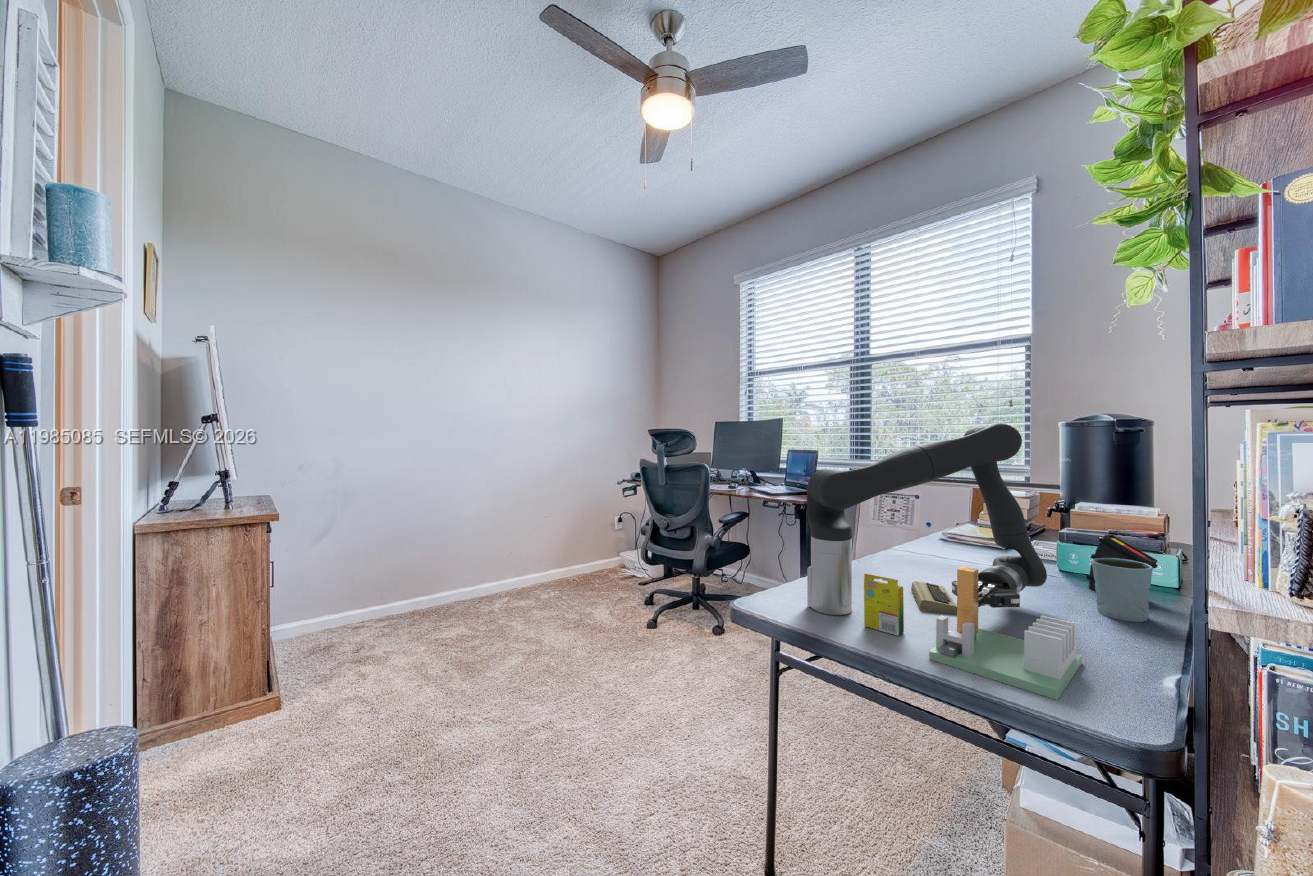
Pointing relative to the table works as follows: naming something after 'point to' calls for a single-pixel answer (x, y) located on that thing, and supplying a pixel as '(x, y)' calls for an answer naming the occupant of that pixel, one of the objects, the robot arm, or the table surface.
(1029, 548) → the robot arm
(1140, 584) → the grey green bin
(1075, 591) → the table surface
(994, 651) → the heatsink board
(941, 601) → the computer
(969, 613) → the wooden block
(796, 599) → the table surface
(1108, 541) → the black striped box
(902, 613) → the crayon box
